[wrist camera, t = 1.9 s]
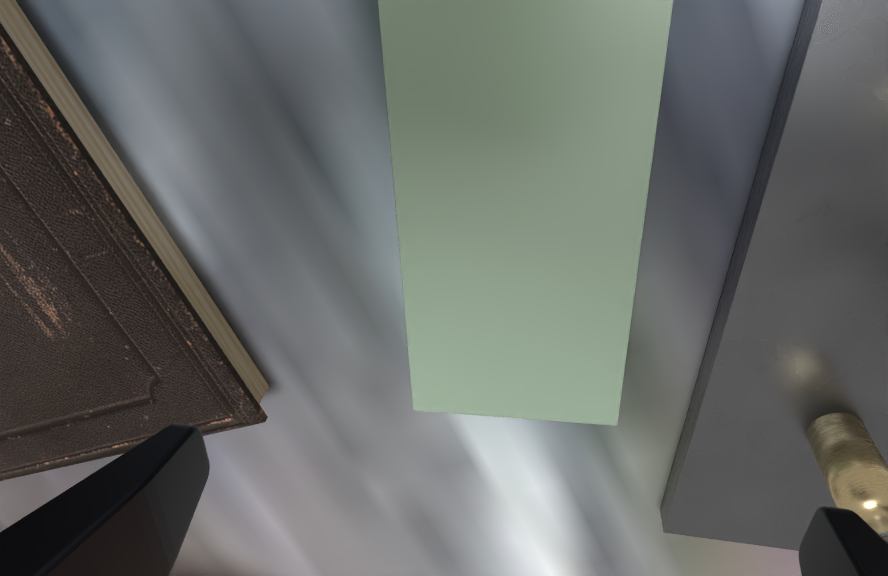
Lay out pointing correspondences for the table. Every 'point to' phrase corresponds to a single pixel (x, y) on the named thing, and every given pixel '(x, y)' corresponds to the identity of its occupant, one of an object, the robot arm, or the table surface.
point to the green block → (521, 196)
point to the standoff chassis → (801, 309)
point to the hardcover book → (94, 289)
